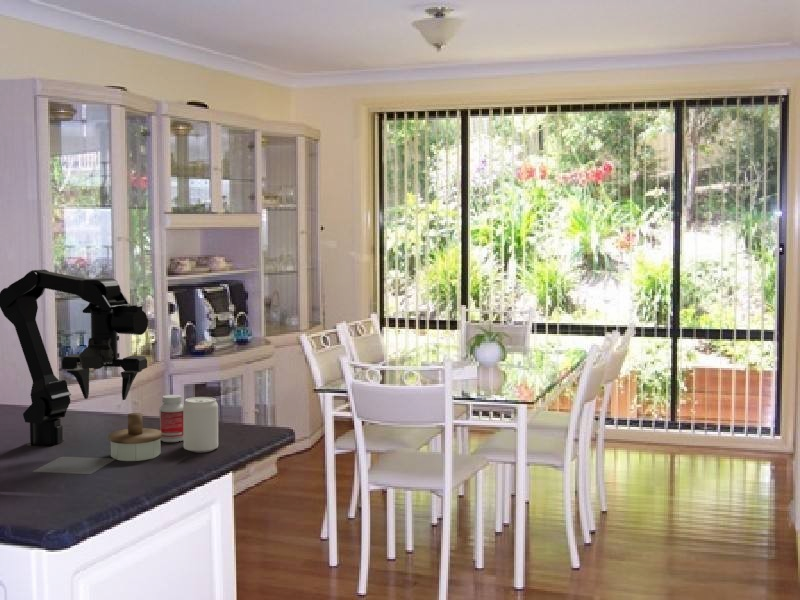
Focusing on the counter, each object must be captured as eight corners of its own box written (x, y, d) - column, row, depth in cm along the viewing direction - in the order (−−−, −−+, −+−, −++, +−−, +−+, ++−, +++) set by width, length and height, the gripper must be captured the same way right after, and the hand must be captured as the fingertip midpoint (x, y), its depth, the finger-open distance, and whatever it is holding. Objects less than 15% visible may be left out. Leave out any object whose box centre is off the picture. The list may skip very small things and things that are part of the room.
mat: (32, 474, 199) (32, 471, 199) (61, 459, 212) (61, 456, 212) (90, 476, 198) (90, 474, 198) (116, 461, 211) (116, 458, 211)
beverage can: (188, 454, 217) (188, 403, 216) (179, 447, 225) (179, 398, 224) (222, 451, 221) (222, 401, 220) (212, 444, 228) (212, 395, 227)
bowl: (105, 462, 210) (104, 442, 210) (123, 451, 220) (123, 432, 220) (148, 464, 209) (148, 443, 208) (165, 453, 219) (165, 433, 218)
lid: (100, 442, 209) (99, 418, 208) (121, 431, 220) (121, 408, 220) (150, 444, 208) (149, 420, 207) (168, 433, 219) (168, 409, 219)
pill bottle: (189, 441, 231) (188, 396, 230) (164, 444, 228) (164, 399, 227) (180, 436, 236) (179, 392, 235) (156, 439, 233) (155, 395, 232)
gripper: (48, 336, 210) (50, 404, 212) (128, 337, 208) (129, 407, 209) (72, 330, 221) (73, 395, 223) (147, 332, 219) (148, 398, 220)
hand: (105, 399), depth 218 cm, fingers open, 9 cm apart
